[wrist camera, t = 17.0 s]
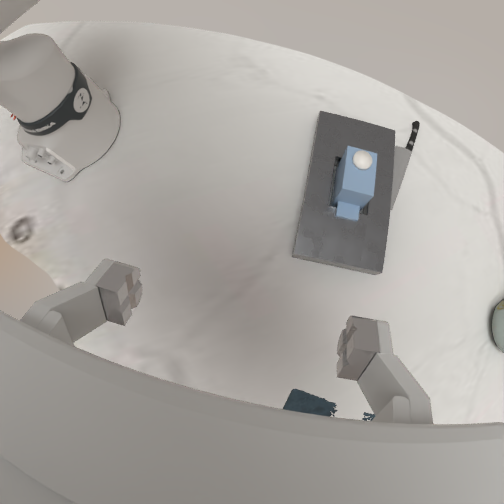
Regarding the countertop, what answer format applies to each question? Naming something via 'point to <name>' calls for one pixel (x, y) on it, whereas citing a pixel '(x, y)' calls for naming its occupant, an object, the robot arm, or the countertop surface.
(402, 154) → the chef's knife
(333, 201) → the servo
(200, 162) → the countertop surface
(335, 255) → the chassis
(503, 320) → the air freshener
